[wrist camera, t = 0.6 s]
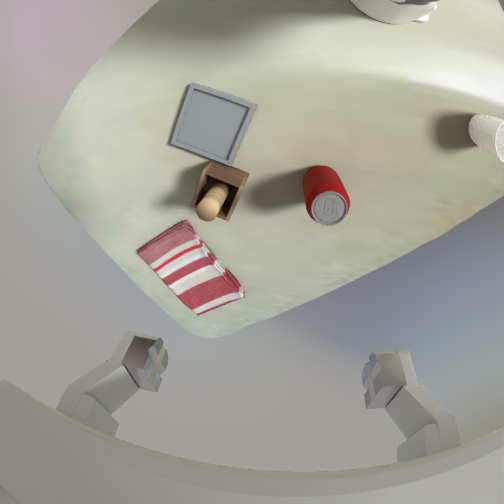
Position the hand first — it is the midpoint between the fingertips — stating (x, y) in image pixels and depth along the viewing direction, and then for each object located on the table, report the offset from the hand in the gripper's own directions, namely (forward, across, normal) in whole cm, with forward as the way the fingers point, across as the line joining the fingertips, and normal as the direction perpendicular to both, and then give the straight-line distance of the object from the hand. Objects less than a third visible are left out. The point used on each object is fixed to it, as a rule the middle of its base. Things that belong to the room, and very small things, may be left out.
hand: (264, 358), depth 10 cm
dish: (+42, +12, -4) cm, 44 cm away
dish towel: (+44, +20, +30) cm, 57 cm away
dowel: (+42, +11, +8) cm, 44 cm away
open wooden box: (+42, +11, +8) cm, 44 cm away
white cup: (+42, -40, -9) cm, 59 cm away
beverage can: (+42, -7, +7) cm, 43 cm away
